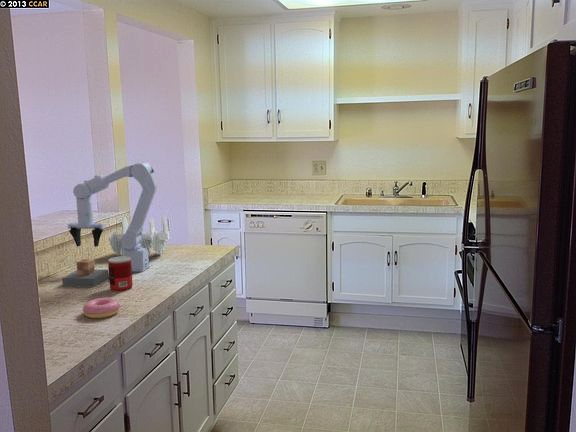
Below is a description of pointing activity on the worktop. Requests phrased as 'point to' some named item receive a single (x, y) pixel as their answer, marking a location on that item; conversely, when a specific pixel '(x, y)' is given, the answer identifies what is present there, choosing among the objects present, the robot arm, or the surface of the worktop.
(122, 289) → the canned food
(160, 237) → the white irregular piece
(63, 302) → the worktop surface
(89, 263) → the terracotta block
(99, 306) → the doughnut
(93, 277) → the charcoal stand
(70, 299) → the worktop surface
